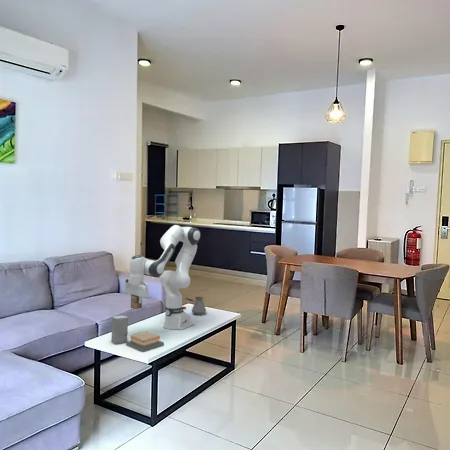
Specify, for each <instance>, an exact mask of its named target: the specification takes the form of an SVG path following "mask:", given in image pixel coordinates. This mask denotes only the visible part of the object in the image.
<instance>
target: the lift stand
mask: <svg viewBox="0 0 450 450" xmlns="http://www.w3.org/2000/svg"><path fill="white" fill-rule="evenodd" d="M129 338H130V340H127V342H125V345H126V347H129V348H132V349H134V350H136V351H138V352H141V353H144V352H147V351H148V352H149V351H151V350H154V349H157V348H160V347H163V346H165V342H164V341H161V340H160V339H161V336H160V335H159V334H155V333H152V332H149V331H143V332H139V333H136V334H132V335H131V336H129Z"/></svg>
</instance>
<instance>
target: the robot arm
mask: <svg viewBox="0 0 450 450" xmlns="http://www.w3.org/2000/svg"><path fill="white" fill-rule="evenodd" d="M200 240H201V231H200V229H199V228H197V227H192V226H180V225H178V224H174V225H172V226H170V227H169V229H168V230H166V232H165V233H164V234H163V235H162V237H161V238H160V240H159V242H160V246H161V248H162V249H163V250H164V251H163V252H162V254H161V255H160V257H159V258H158V259H157V260H152V259H149V258H146V257H144V256H143V255H142V254H139V255H138V254H137V255H133V256H132V257H131V258H130V262H129V263H130V264H129V271H130V274H129V277H128V278H125V279H124V282H125V284H124V292H125V293H126V294H128V295H129V296H130V297H131V295H135V296H139V300H138V303H141V300H142V301H143V299H145V298H148V297H149V287H148V284H147V282H145V275H147V276H152V277H154V278H158V277H159V281H160V283H161V285H162V286H163V289H164V291H165V299H166V300H165V309H164V310H165V316H164V322H163V325H162V326H163V328H164V329H166V330H167V329H168V330H185V329H187V328H190V327H191V326H193V325H195V323H194V322H193V321H191V316H190V314H188V313H187V312H185V310H187V307H186V306H183V295H182V293H181V292H180V291H179V290H180V289H181V290H182V289H187V288H189V286H190V284H191V277H190V274H189V273H190V267H191V265H192V263H193V261H194V258H195V255H196V253H197V249H198V243H199V241H200ZM180 242H182V243H183V244H182V247H181V248H180V251H179V252H178V253H177V256H176V258H175V261H174V263H175V265H176V269H175V270H171V269H168V270H166V267H167V265H168V263H169V261H170V260H171V258H172V256H173V255H174V253H175V251H176V246H177V245H178V244H179V243H180Z"/></svg>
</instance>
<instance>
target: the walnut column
mask: <svg viewBox="0 0 450 450" xmlns="http://www.w3.org/2000/svg"><path fill="white" fill-rule="evenodd" d="M138 300H139V296H135V295H131V296H130V308H131V309H133V310H138V309H142V308H143V299H142V300H141V303H138Z"/></svg>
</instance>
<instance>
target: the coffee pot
mask: <svg viewBox="0 0 450 450" xmlns="http://www.w3.org/2000/svg"><path fill="white" fill-rule="evenodd" d="M194 299H195V300H193V299H191V298H188V297H185V298H184V299H183V300H184V301H186V302H187V301H189V302H194V304H193V306H192V308H191V313H193V315H195V316H201V315H202V314H203V315H204V314H205V313H206V312H207V309H206V307H205V304H204V302H203V301H204V300H203V299H204V297H203V296H195V297H194Z"/></svg>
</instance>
